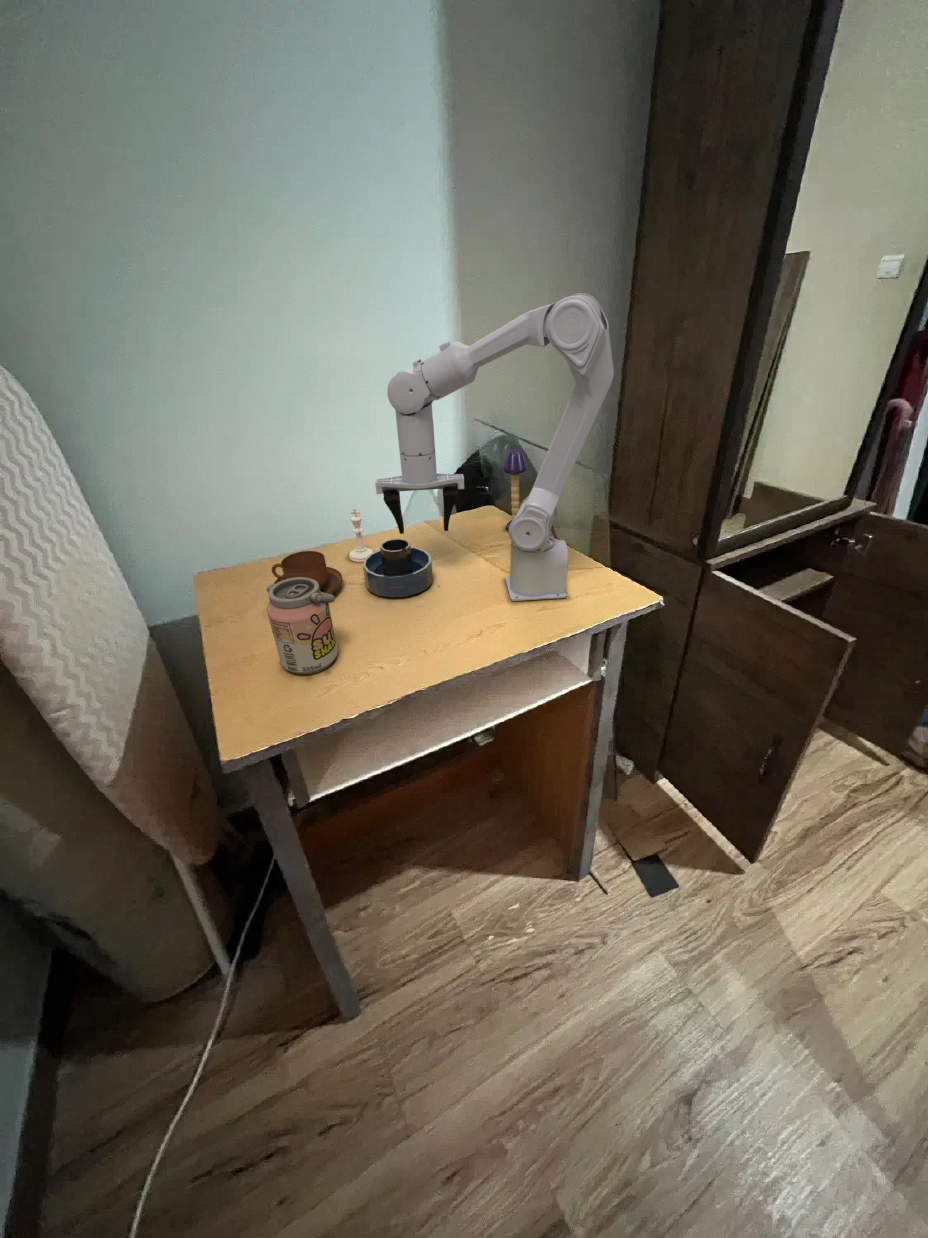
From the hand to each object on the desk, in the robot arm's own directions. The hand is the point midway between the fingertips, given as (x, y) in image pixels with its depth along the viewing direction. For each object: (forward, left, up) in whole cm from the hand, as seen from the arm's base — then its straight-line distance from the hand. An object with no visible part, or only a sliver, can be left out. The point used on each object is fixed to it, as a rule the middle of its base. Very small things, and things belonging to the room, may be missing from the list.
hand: (424, 530), depth 92 cm
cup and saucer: (+21, +3, -10) cm, 23 cm away
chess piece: (+13, -10, -10) cm, 19 cm away
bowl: (+5, +2, -9) cm, 11 cm away
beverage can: (+17, +23, -10) cm, 30 cm away
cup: (+5, +2, -9) cm, 10 cm away
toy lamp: (-19, -20, -10) cm, 29 cm away
